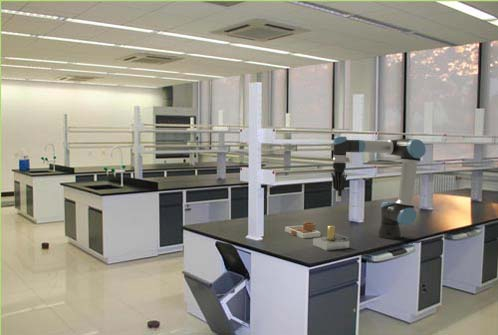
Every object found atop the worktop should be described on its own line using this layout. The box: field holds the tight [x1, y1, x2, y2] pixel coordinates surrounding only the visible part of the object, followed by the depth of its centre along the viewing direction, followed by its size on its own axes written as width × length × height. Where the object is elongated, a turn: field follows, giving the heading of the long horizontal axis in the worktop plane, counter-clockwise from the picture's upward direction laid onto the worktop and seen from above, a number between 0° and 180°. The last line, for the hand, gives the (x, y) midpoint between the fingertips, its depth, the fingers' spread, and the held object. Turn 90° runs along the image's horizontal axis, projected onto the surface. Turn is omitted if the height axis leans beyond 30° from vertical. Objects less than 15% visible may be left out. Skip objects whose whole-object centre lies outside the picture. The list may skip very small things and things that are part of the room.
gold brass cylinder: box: [326, 225, 336, 241], centre depth 262 cm, size 4×4×12 cm
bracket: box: [290, 221, 316, 237], centre depth 296 cm, size 18×8×7 cm, turn 121°
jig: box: [312, 232, 350, 251], centre depth 262 cm, size 16×14×6 cm
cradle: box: [284, 224, 321, 239], centre depth 296 cm, size 13×23×3 cm, turn 24°
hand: (338, 201), depth 265 cm, fingers closed
